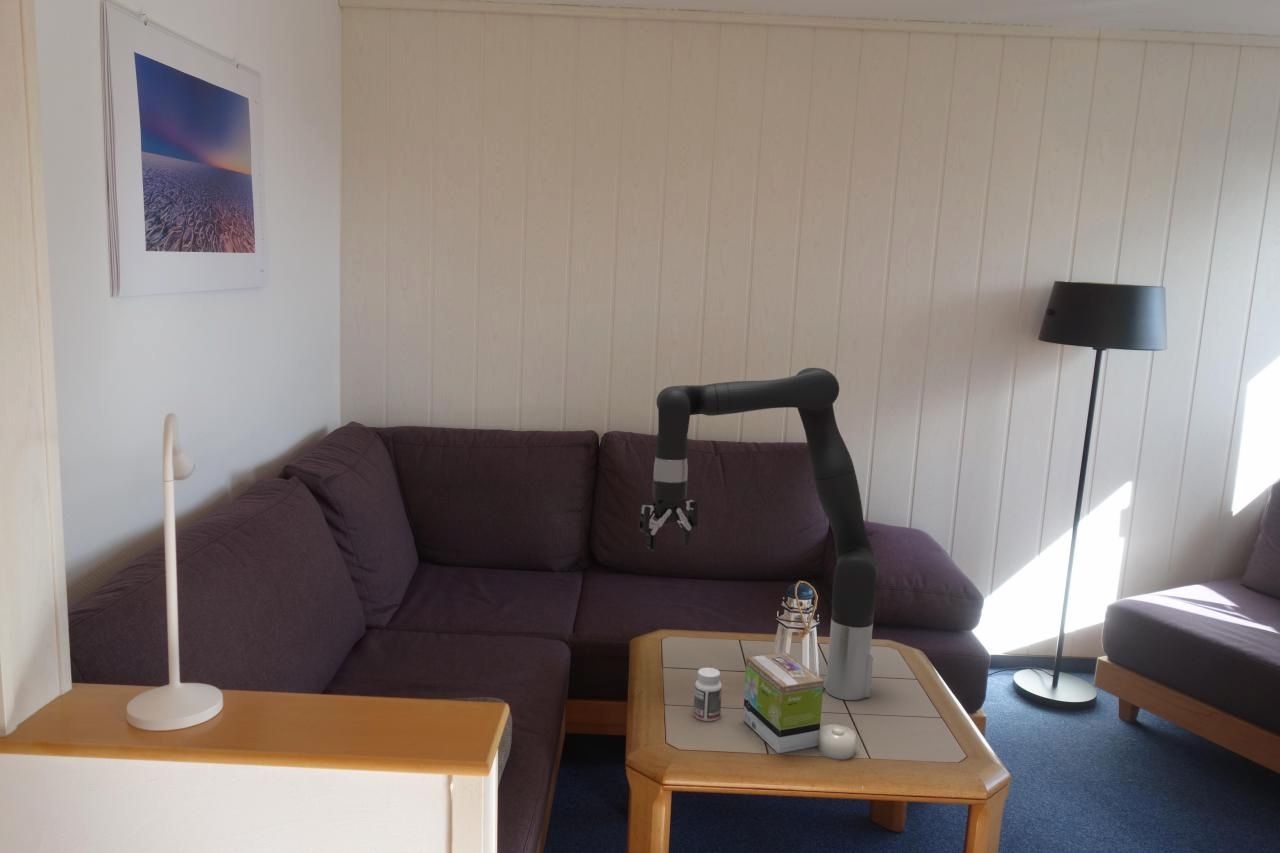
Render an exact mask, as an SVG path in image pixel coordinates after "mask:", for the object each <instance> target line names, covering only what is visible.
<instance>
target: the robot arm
mask: <svg viewBox="0 0 1280 853" xmlns="http://www.w3.org/2000/svg"><path fill="white" fill-rule="evenodd" d="M839 394H840V385H839V382H838V379H837V378H836V376H835V375H834V374H833V373H832V372H830V371H829V370H827V369H825V368H819V367H805V368H804V369H801V370H800V371H798V372H797V374H796V375H793V376H788V377H783V378H777V379H768V380H740V381H739V380H737V381H736V380H735V381H726V382H725V381H724V382H715V383H709V384H703V385H702V384H701V385H700V384H699V385H695V384H693V385H692V384H691V385H673V386H668V387H665V388H663V389H662V390H661V391H660V392H659V393H658V395H657V397H656V407H657V409H658V410H657V411H658V417H657V418H658V422H657V424H658V426H657V429H658V431H657V434H656V438H655V458H654V463H653V464H654V465H653V485H652V497H653V503H652V504H651V505H647V504H641V505H640V507H639V518H638V527H637V528H638V531H640V532H641V533H644V534H646V535H645V536H646V539H645V542H646V543H645V546H646V548H647V550H649V551H651V552H656V550H657V548H656V544H657V543H656V542H657V541H656V540H657V535H656V533H657V531H658V530H659V529H660V528H661V527H662V526H663V525H664V524H669V523H678V525H679V526H680V530H679V531H680V532H679V545H680V546H681V547H683V548H685V547H688V545H689V543H690V532H691V529H692V528H697V527H698V525H699V513H698V512H699V510H698V508H699V505H698V504H699V503H698V501H696V500H693V499H691V498H689V499H688V500H686V499H687V496H688V495H687V493H688V471H689V470H688V469H689V467H688V445H689V444H688V433H689V427H690V418H691V416H697V415H704V416H708V417H709V416H711V417H712V416H713V417H715V416H723V415H731V414H740V413H746V412H753V411H761V410H769V409H780V408H785V409H786V408H794V409H795V408H796V409H797V411H798V414H799V418H800V420H801V423H802V426H803V429H804V433H805V438H806V439H805V440H806V443H807V444H806V445H807V451H808V456H809V461H810V467H811V471H812V473H811V474H812V476H813V481H814V486H815V490H816V495H817V497H818V500H819V502H820V505H821V508H822V510H823V512H824V514H825V516H826V518H827V520H828V522H829V524H830V527H831V531H832V534H833V539H834V540H833V541H834V544H835V551H836V566H835V568H834V574H833V583H832V597H831V618H830V629H829V630H830V631H829V644H828V655H827V656H828V657H827V658H828V659H827V666H826V667H827V669H826V679H825V692H826V693H828V695H830V696H831V697H834V698H836V699H839V700H844V701H859V700H862V699H864V698H870V695H871V683H872V674H873V664H874V663H873V662H874V658H873V656H872V655H871V649H872V638H873V627H874V617H875V603H876V593H877V592H876V591H877V582H878V580H877V579H878V574H879V565H878V564H879V563H878V560H877V559H876V555H875V552H874V550H873V547H872V545H871V541H870V539H869V535H868V533H867V530H866V526H865V522H864V513H863V512H864V511H863V504H862V498H861V493H860V488H859V482H858V478H857V475H856V474H857V473H856V470H855V466H854V463H853V459H852V457H851V454H850V452H849V449H848V448H847V445H846V443H845V441H844V439H843V437H842V435H841V432H840V430H839V427H838V425H837V420H836V416H835V411H834V405H833V403H835V402H836V401H837V398H838V397H839ZM686 510H687V517H686V516H685V513H684V512H685V511H686ZM652 512H653V514H652ZM651 515H652V516H651Z"/></svg>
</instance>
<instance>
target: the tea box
mask: <svg viewBox="0 0 1280 853" xmlns="http://www.w3.org/2000/svg"><path fill="white" fill-rule="evenodd" d="M744 678H745V679H744V680H745V681H744V693H743V694H744V696H743V709H742V710H743V711H742V713H743V715H742V720H743V722H744V723H745V724H747V725H748V726H749V728H751V729H752V730H753V731H754V732H755V733H756V734H758V735H759V737H761V739H762V740H764V741H765V742H766V743H767V745H769V746H770V748H772V749H773V750H774V751H775V752H776V754H782V753H783V754H784V753H787V752H788V753H789V752H794V751H799V750H805V749H810V748H815V747H819V738H820V729H821V718H822V707H823V697H824V694H823V693H824V679H823V678H821V677H820V676H818V675H817V674H816V673H814V672H813V671H812V670H810V669H809V668H808V667H806V666H805V665H804V664H802V663H801V662H800V661H798V660H797V659H796V658H795V657H793V656H792V655H790V654H789V653H788V652H786V651H782V652H776V653H769V654H763V655H757V656H751V657H749V656H746V662H745V677H744Z"/></svg>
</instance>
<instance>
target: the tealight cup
mask: <svg viewBox="0 0 1280 853" xmlns="http://www.w3.org/2000/svg"><path fill="white" fill-rule="evenodd" d="M856 737H857V736H856V732H855V731H854V729H852V728H849V727H848V726H845V725H841V724H826V725H824V726H822V727H820V734H819V745H818V751H819V752H820V754H822V755H824V757H827V758H829V759H833V760H841V761H842V760H848V759H851V758H852V757H854V755H855V748H856V747H855V746H856Z"/></svg>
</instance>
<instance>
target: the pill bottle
mask: <svg viewBox="0 0 1280 853" xmlns="http://www.w3.org/2000/svg"><path fill="white" fill-rule="evenodd" d="M697 678H698V679H697V680H696V681H695V684H694V698H693V699H694V700H693V702H694V704H693V715H694V717H695V718H696V719H698V720H699V721H703V722H704V721H705V722H713V721H717V720H718V719H719V718H721V711H722V710H721V708H722V690H723V685H722V682H721V681H720V678H721V672H720V670H718V669H717V668H713V667H701V668H700V669H698V671H697Z"/></svg>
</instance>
